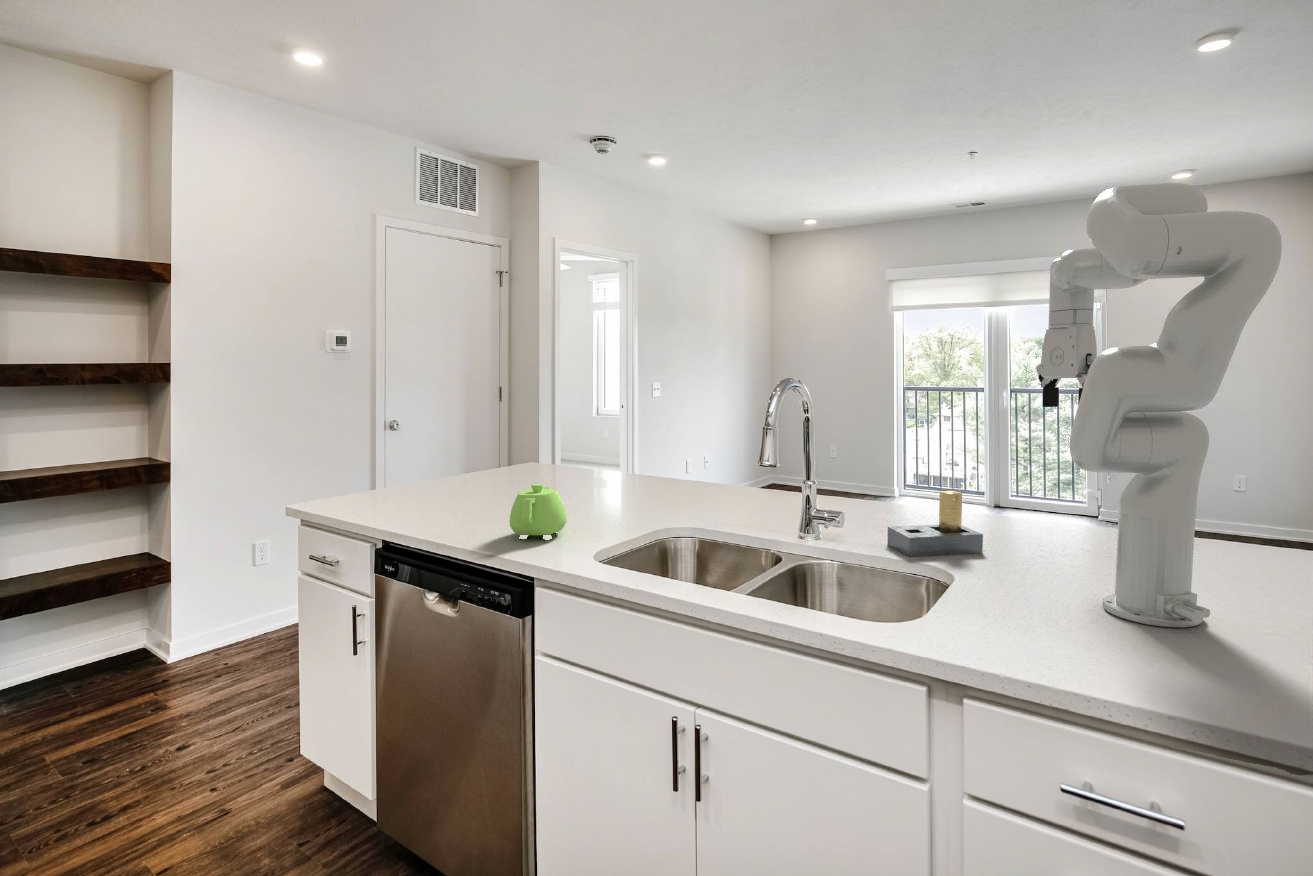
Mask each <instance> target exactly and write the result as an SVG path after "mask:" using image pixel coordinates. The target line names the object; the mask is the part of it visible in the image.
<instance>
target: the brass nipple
mask: <svg viewBox="0 0 1313 876" xmlns="http://www.w3.org/2000/svg"><path fill="white" fill-rule="evenodd" d="M938 502H939V507H938V509H939V511H938V512H939V513H938V524H939V532H941V533H961V525H962V520H963V517H962V515H963V514H962V513H963V510H962V509H963V493H962V492H960V491H954V490H943V491H942V490H941V491H939V501H938Z"/></svg>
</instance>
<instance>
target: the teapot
mask: <svg viewBox="0 0 1313 876" xmlns="http://www.w3.org/2000/svg"><path fill="white" fill-rule="evenodd" d="M566 510H567V509H566V508H565V505H564V502H563V500H562V498H561V496H560V494H559V492H558V491H557V490H556V489H555V488H551V487H544V484H542V483H534V484H531V488H529V489H528V488H527V489H523V490H521V491H519V492H518V493H517V495H516V497H515V499H514V502H513V504H512V506H511V510H510V515H509V526H510V528H511V530H512V531H513V533H514V534H515V535H519V536H520V535H529V536H542V535H551V534H552V535H554V534H553V533H556V532H561V531H562V530H563V529H564V527H565V525H566V524H567V522H568V517H567V511H566Z"/></svg>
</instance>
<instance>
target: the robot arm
mask: <svg viewBox="0 0 1313 876" xmlns="http://www.w3.org/2000/svg"><path fill="white" fill-rule="evenodd" d="M1208 204H1209V203H1208V199H1207V197H1206V195H1205V194H1204V192H1202V191H1201V190H1200V189H1199V188H1197V187H1195V186H1193V185H1190V184H1187V183H1180V182H1165V183H1164V182H1163V183H1161V182H1159V183H1150V184H1148V183H1146V184H1136V185H1135V184H1134V185H1133V184H1132V185H1119V186H1114V187H1111V188H1109V189H1106V190H1105V191H1103V192H1102V193H1100V194H1099V195H1098V196H1097V197H1096V199H1095V200H1094V201H1093V202H1092V204H1091V206H1090V208H1089V210H1088V213H1087V217H1086V232H1087V236H1088V238H1089V241H1090V242H1091V244H1092V245H1093V246H1094V247H1091V248H1075V249H1069V250H1067V251H1065V252H1063V253H1062V255H1060V257H1059V258H1056V259H1054V260H1053V261H1052V262H1051V263H1050V268H1049V269H1050V270H1049V303H1048V307H1049V308H1048V328H1046V330H1045V333H1044V336H1043V337H1044V339H1043V342H1042V343H1043V344H1042V350H1041V360H1040V363H1039V364H1038V365H1036V366H1035V369H1036V373H1037V376H1038V380H1039V382H1040V387H1041V388H1042V405H1041V406H1042V408H1057V407H1059V400H1060V399H1059V396H1060V395H1059V394H1060V388H1059V387H1057V386H1058V384H1059V382H1060V381H1061V380H1062V379H1077V381H1078V383H1079V384H1080V386H1081V387H1078V401H1077V408H1076V412H1075V417H1074V419H1073V422H1072V427H1071V431H1070V437H1069V454H1070V457H1071V460H1072V461H1073V462H1074V464H1075V465H1076V466H1077V467H1078V468H1079V469H1081V470H1084V471H1086V472H1091V473H1092V472H1093V473H1109V474H1110V473H1111V474H1114V473H1115V474H1118V473H1122V474H1130V473H1131V474H1135V475H1134V476H1133V477H1132V478H1131V480H1130V481H1129V482H1128V484H1127V485H1126V486H1125V487H1124V489H1123V491H1122V493H1121V495H1120V498H1119V503H1118V504H1119V505H1118V521H1117V538H1116V539H1117V541H1116V560H1115V562H1116V563H1115V584H1114V593H1112V594H1109V595H1106V596H1104V597H1103V598H1102V608H1103V609H1104V610H1106V611H1107V612H1108V613H1110V614H1111V615H1113V616H1116V617H1119V618H1121V619H1124V620H1127V621H1131V622H1133V623H1134V622H1135V623H1139V624H1144V625H1149V626H1156V627H1163V628H1191V627H1197V626H1199V625H1201V624H1202V623H1203V621H1204V618H1205V619H1207V618H1209V617H1210V616H1211V610H1210V609H1209V608H1207V607H1204V606H1202V605H1198V604H1197V602H1198V601H1197V598H1198V593H1195V592H1192V583H1193V582H1192V581H1193V566H1194V550H1195V549H1194V548H1195V547H1194V545H1195V529H1196V518H1197V504H1198V492H1199V485H1200V481H1201V475H1202V472H1203V468H1204V465H1205V462H1206V458H1207V454H1208V451H1209V447H1210V446H1209V445H1210V433H1209V430H1208V428H1207V426H1206V424H1205V422H1204V421H1202V420H1201V419H1200V418H1199V417H1198V416H1197V415H1194V414H1192V413H1189V411H1195V410H1200V409H1202V408H1205V407H1206V406H1208V405H1209V404H1210V403H1211V402H1212V401H1213V400H1214V399H1215V397H1216V394H1217V392H1218V391H1219V388H1220V387H1221V385H1222V382H1223V380H1224V377H1225V375H1226V372H1227V370H1228V367H1229V366H1230V363H1231V360H1232V357H1233V355H1234V353H1235V350H1236V349H1237V348H1236V347H1237V345H1238V343H1239V341H1240V337H1241V335H1242V332H1243V329H1244V328H1245V326H1246V324H1247V322H1248V320H1249V318H1250V317H1251V316H1252V314H1253V312H1254V311H1255V309H1256V308H1257V307H1258V305H1259V304H1260V303H1261V301H1262V299H1263V298H1264V297H1265V295H1266V294H1267V292H1268V290H1269V289H1270V287H1271V285H1272V284H1273V282H1274V279H1275V277H1276V275H1277V273H1278V270H1279V266H1280V263H1281V258H1282V253H1283V251H1282V250H1283V244H1282V236H1281V232H1280V229H1279V227H1278V226H1277V225H1276V223H1275V222H1274V221H1273V220H1272V219H1270V218H1269V217H1267V216H1266V215H1263V214H1261V213H1260V214H1259V213H1256V212H1251V211H1250V212H1249V211H1240V210H1217V211H1208V208H1209V207H1208V206H1209V205H1208ZM1200 277H1201V278H1203V277H1204V280H1203V281H1202V282H1201V283H1200V284H1199V285H1197V286H1195V287H1194V288H1192V290H1190V291H1188V292H1187V293H1186V294H1185V295H1184V296H1183V297H1182V298H1181V299H1180V300H1179V301H1178V302H1177V303H1176V304H1175V305H1174V306H1173V307H1172V308H1171V309H1170V310H1169V312H1168V314H1167V316H1166V318H1165V321H1164V324H1163V327H1162V330H1161V332H1160V334H1159V337H1158V339H1157V341H1156V342H1154V343H1152V344H1149V345H1127V346H1126V345H1125V346H1118V347H1117V346H1116V347H1111V348H1109V349H1106V350H1104V351H1102V352H1101V353H1099V355H1098V354H1097V353H1098V352H1097V351H1098V347H1097V336H1096V330H1095V326H1094V310H1095V309H1094V308H1095V307H1094V305H1095V297H1094V296H1095V290H1117V289H1118V290H1120V289H1121V290H1122V289H1130V288H1132V287H1136V286H1138V285H1141V284H1143V283H1144V282H1146V281H1148V280H1156V279H1159V280H1160V279H1161V280H1162V279H1182V278H1183V279H1185V278H1200Z"/></svg>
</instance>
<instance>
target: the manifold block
mask: <svg viewBox="0 0 1313 876" xmlns="http://www.w3.org/2000/svg"><path fill="white" fill-rule="evenodd" d="M983 541H984V534H983V533H981V532H978V531H976V530H974V529H971V528H969V527H966V526H963V525H962V524H961V533H941V532H939V523H938V524H919V525H918V524H917V525H895V526H887V546H889V547H891V548H893V549H895V550H896V551H898V552H900V553H902V554H904V555H905V556H906V557H908V558H911V557H928V556H930V557H931V556H949V555H952V556H953V555H969V554H970V555H971V554H972V555H973V554H983V550H984V549H983V547H984V544H983V543H984V542H983Z"/></svg>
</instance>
